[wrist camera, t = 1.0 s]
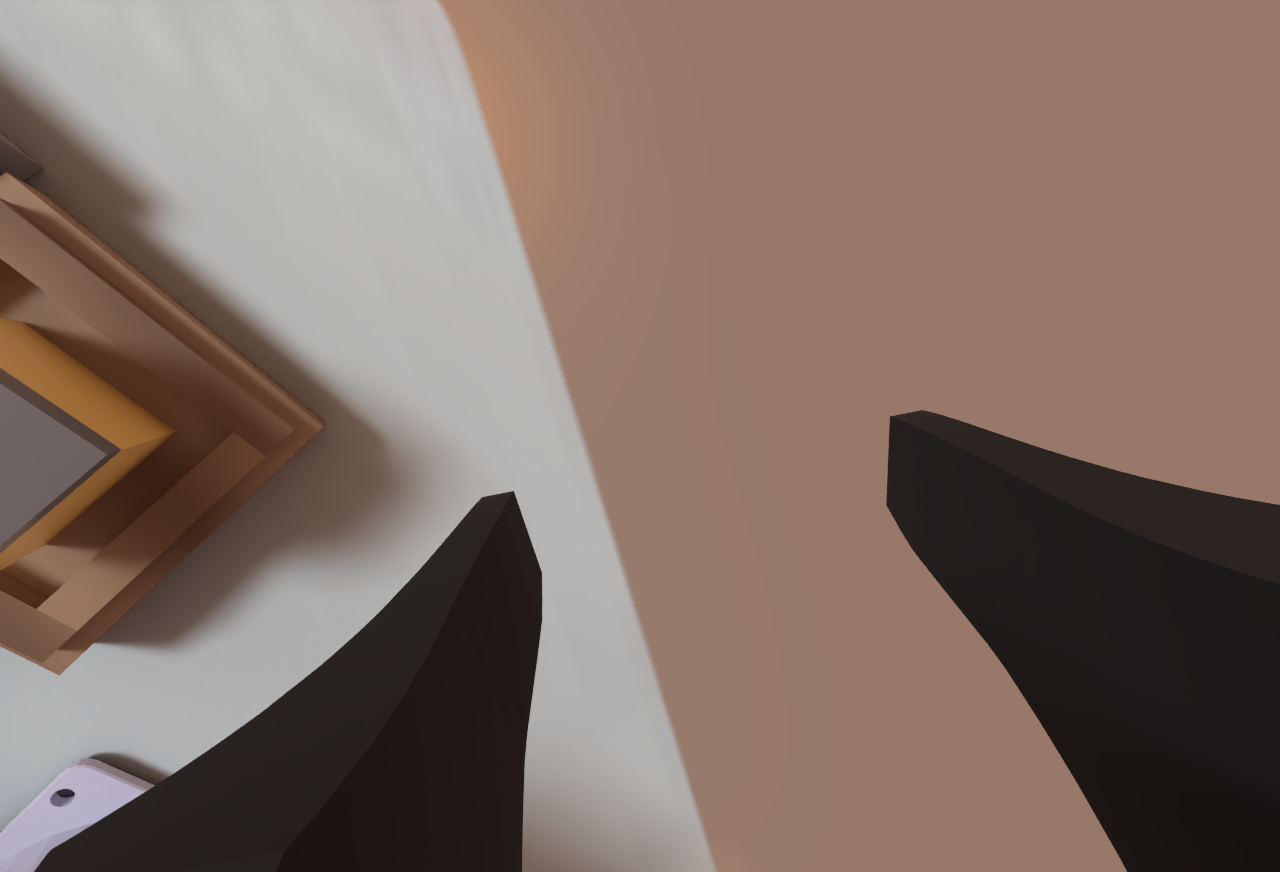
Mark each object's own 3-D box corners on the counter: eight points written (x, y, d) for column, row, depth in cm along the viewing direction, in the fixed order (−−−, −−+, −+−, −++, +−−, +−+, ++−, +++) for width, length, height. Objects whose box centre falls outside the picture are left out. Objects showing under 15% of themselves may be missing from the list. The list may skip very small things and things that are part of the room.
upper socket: (90, 643, 17) (44, 690, 14) (-302, 438, 13) (-454, 453, 11) (325, 421, 19) (322, 429, 16) (46, 195, 15) (-13, 160, 13)
